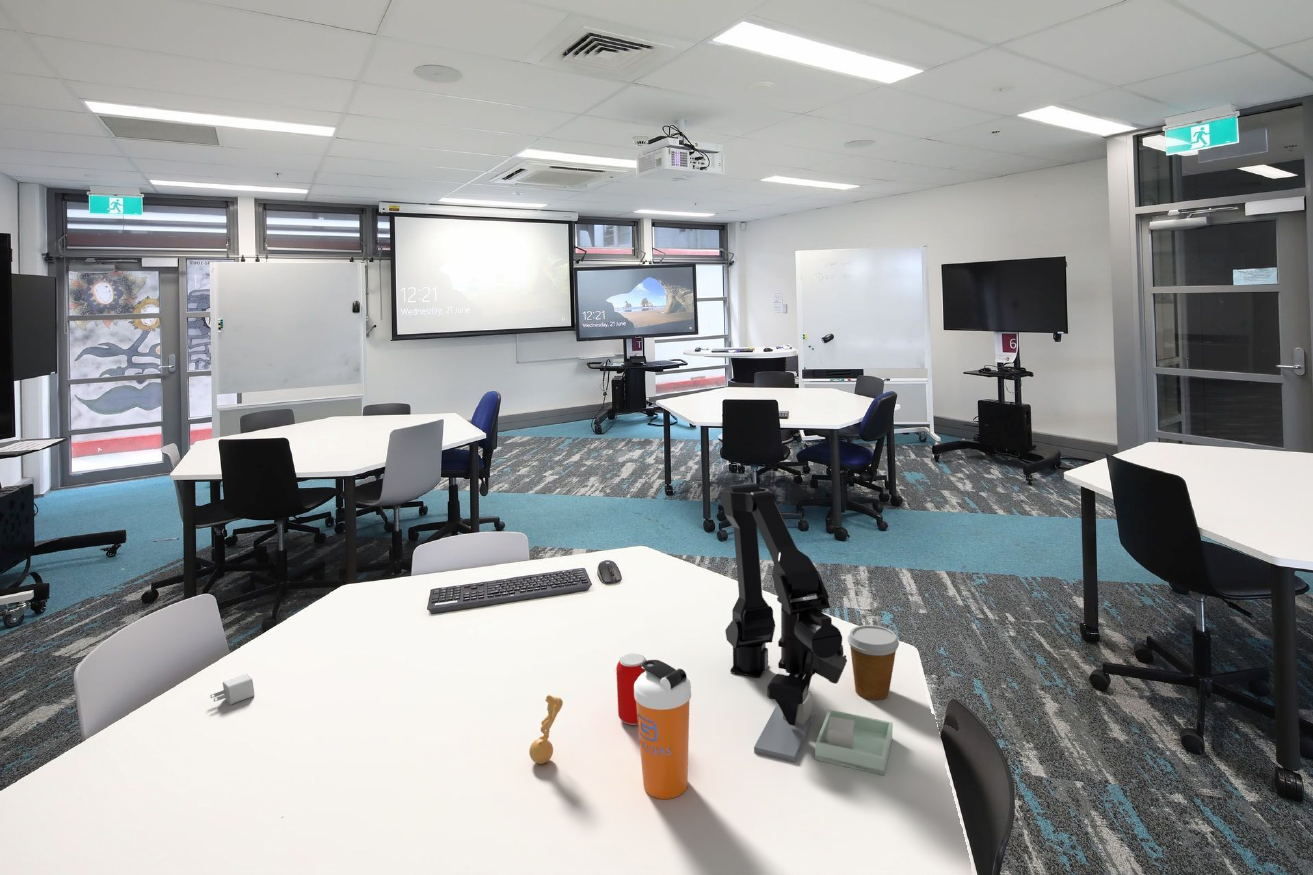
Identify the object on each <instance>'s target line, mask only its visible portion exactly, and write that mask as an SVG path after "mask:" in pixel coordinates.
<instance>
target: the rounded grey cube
mask: <svg viewBox="0 0 1313 875" xmlns="http://www.w3.org/2000/svg"><path fill="white" fill-rule="evenodd" d="M828 744H830V745H834V746H839V747H843V748H848V749H852V750H853V746H854V720H848V719H842V718H835V717H830V721H829V727H828Z"/></svg>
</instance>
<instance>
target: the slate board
mask: <svg viewBox="0 0 1313 875" xmlns="http://www.w3.org/2000/svg"><path fill="white" fill-rule="evenodd" d="M814 718H815V710H813V709H812V714H811V716H810V717H809V718H808V720H807V721H806V722H805V724H804V725H803V724H800V723H796V722H795V725H794V726H793V725H789V724H788V722H787V720H786V719H783V712H782V710H781V709H780V707H779V705H778V703H777V702H776V705H775V707H774V709H773V711H772V713H771V715H770V717H769V718H768V720H767V722H766V724H765V726H764V727H763V730H762V731H761V733H760V735H759V737H758V739H757V740H756V743H755V744H754V746H753V752H754V753H755V754H760V755H763V756H767V757H770V758H771V757H772V758H775V759H776V758H777V759H780V760H784V761H788V762H793V763H795V762H796V760H797V757H798V756H799V753H800V750H801V748H802V746H803V743H804V742H805V739H806V737H807V734H808V732H809V729H810V727H811V725H812V723H813V720H814Z"/></svg>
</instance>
